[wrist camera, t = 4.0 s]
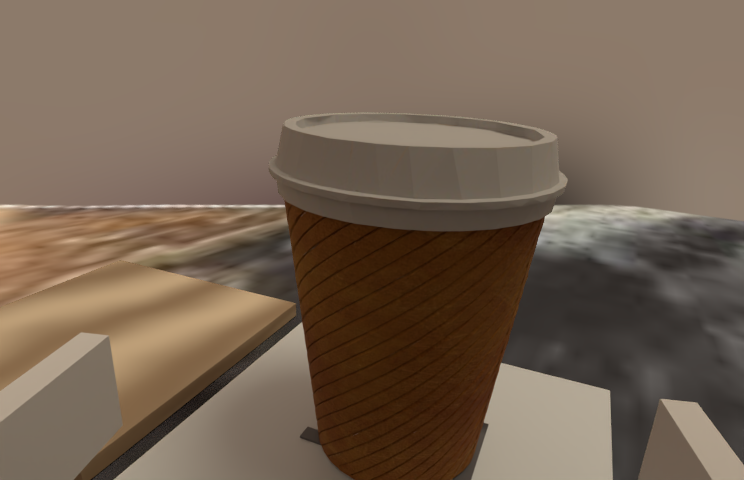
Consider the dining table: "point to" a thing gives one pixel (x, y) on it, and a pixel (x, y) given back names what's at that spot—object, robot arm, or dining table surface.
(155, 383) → the oak coaster
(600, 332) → the dining table surface
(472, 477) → the mat
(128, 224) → the dining table surface
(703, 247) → the dining table surface
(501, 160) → the disposable coffee cup
